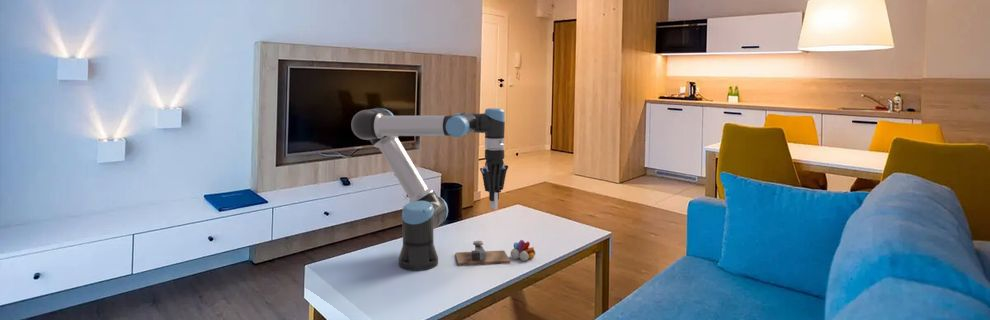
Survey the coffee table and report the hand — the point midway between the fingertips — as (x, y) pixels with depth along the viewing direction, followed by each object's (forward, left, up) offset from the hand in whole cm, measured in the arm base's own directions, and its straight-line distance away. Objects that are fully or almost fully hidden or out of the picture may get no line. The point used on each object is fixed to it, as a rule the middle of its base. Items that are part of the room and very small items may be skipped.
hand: (493, 208), depth 208 cm
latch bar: (-5, -1, -19) cm, 20 cm away
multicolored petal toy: (+12, 0, -21) cm, 24 cm away
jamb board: (-5, 0, -20) cm, 21 cm away
